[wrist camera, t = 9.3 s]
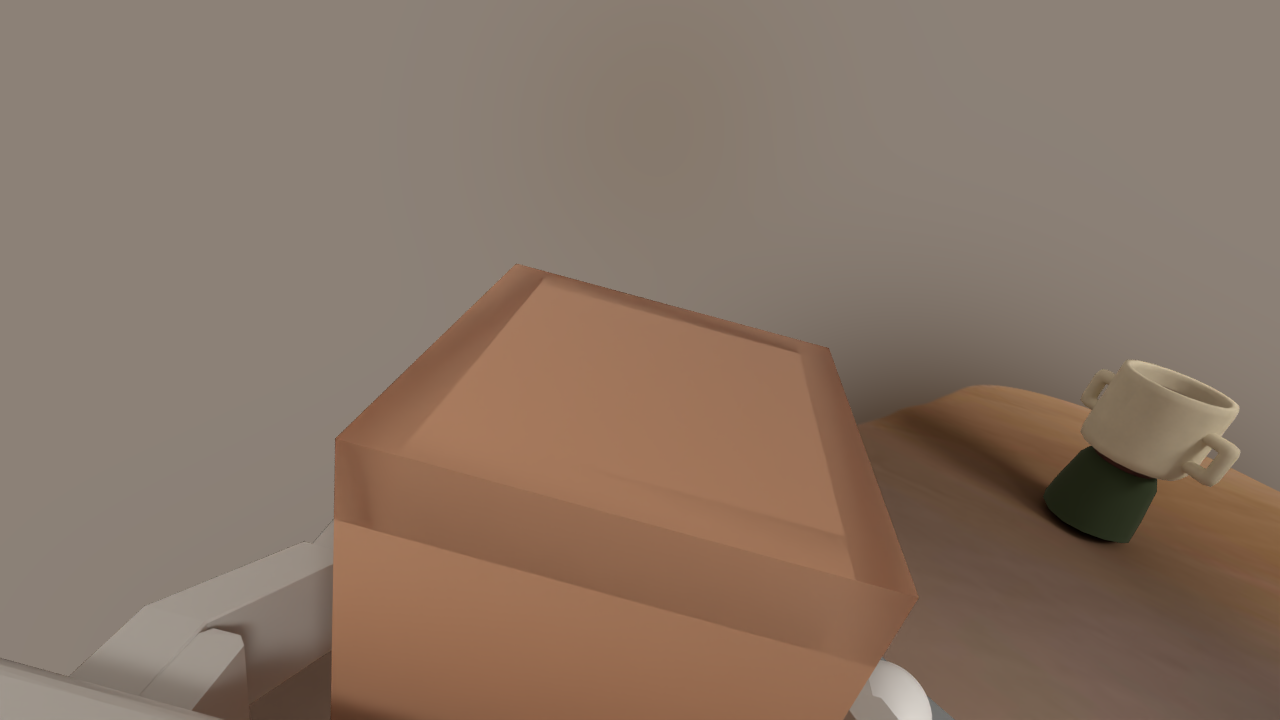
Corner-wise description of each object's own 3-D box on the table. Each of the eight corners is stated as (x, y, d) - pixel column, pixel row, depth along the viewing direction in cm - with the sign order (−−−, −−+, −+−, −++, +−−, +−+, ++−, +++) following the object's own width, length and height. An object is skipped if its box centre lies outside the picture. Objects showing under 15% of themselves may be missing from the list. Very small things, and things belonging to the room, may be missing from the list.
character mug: (1175, 575, 46) (1298, 431, 40) (1105, 575, 44) (1225, 423, 38) (1060, 479, 55) (1146, 351, 50) (997, 475, 53) (1080, 341, 48)
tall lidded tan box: (458, 645, 15) (516, 263, 11) (678, 705, 15) (828, 347, 11) (327, 931, 10) (335, 438, 6) (655, 1022, 10) (918, 597, 6)
